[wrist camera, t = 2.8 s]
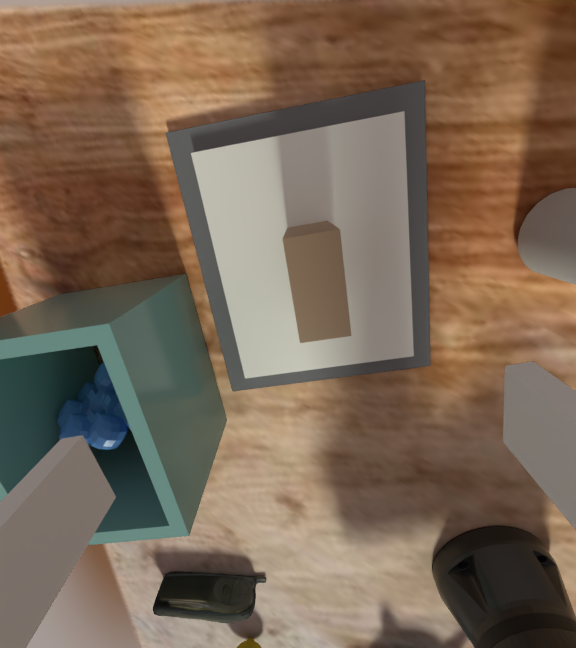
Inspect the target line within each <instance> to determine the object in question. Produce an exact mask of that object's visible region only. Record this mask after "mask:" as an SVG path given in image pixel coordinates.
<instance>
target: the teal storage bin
mask: <svg viewBox="0 0 576 648" xmlns="http://www.w3.org/2000/svg"><path fill="white" fill-rule="evenodd" d="M95 345H97V346H98V348H99V351H100V353H101V356H102V358H103V361H104V363H105V366H106V368H107V371H108V373H109V376H110V378H111V381H112V383H113V386H114V388H115V391H116V393H117V396H118V398H119V401H120V403H121V406H122V408H123V411H124V413H125V416H126V418H127V421H128V423H129V426H130V428H131V430H130V429H129V427H127V433H126V435H125V438H124V440H123V441H122V442H121V444H120V445H119V446H118V447H117V448H116V449H110V450H106V449H98V448H95V447H93V446H91V444H90V445H89V448H90V450H91V451H92V453H93V455H94V457H95V459H96V461H97V463H98V464H99V466H100V468H101V470H102V472H103V474H104V476H105V477H106V479H107V481H108V483H109V485H110V487H111V489H112V490H113V492H114V494H115V496H116V498H115V500H114V501H113V503H112V505H111V506H110V508H109V510H108V511H107V513H106V515H105V516H104V518H103V520H102V521H101V523H100V525H99V526H98V528H97V530H96V531H95V533H94V535H93V537H92V538H91V540H90V542H89V543H88V545H93V544H105V543H115V542H126V541H137V540H148V539H159V538H170V537H181V536H189V535H190V532H191V528H192V525H193V522H194V519H195V516H196V513H197V510H198V507H199V504H200V501H201V498H202V495H203V492H204V489H205V486H206V483H207V480H208V477H209V474H210V471H211V468H212V464H213V461H214V458H215V455H216V452H217V449H218V446H219V443H220V440H221V437H222V434H223V431H224V428H225V425H226V422H227V419H226V416H225V412H224V408H223V405H222V401H221V398H220V394H219V390H218V387H217V383H216V379H215V376H214V372H213V368H212V365H211V361H210V358H209V354H208V350H207V347H206V343H205V339H204V336H203V332H202V329H201V325H200V321H199V318H198V314H197V310H196V307H195V303H194V300H193V296H192V292H191V289H190V285H189V281H188V278H187V274H181V275H175V276H169V277H163V278H156V279H150V280H144V281H138V282H132V283H126V284H120V285H113V286H107V287H101V288H95V289H89V290H83V291H77V292H71V293H64V294H59V295H56V296H54V297H51V298H49V299H46V300H44V301H41V302H38V303H36V304H33V305H31V306H28V307H26V308H23V309H21V310H18V311H15V312H13V313H10V314H8V315H5V316H3V317H0V502H1V501H2V500H3V499H4V498H5V497H6V496H7V495H8V494H9V493H10V491H11V490H12V489H13V488H14V487H15V486H16V485H17V484H18V483H19V482H20V481H21V480H22V479H23V478H24V477H25V476H26V475H27V474H28V473H29V472H30V471H31V470H32V469H33V468H34V467H35V466H36V465H37V463H38V462H39V461H40V460H41V459H42V458H43V457H44V456H45V455H46V454H47V453H48V452H49V451H50V450H51V449H52V448H53V447H54V446H55V445H56V444H57V443H58V442H59V441H60V439H59V434H60V429H61V428H60V427H59V425H58V424H57V416H58V414H59V412H60V410H61V408H62V406H63V405H64V404H65V402H66V401H67V400H77V395H78V393H79V391H80V390H81V388H82V387H83V385H84V384H85V383H86V382H87V383H95V382H94V377H95V374H96V372H97V370H98V368H99V367H100V364H99V362H98V359H97V357H96V354H95V352H94V349H93V347H92V346H95Z"/></svg>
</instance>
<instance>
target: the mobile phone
mask: <svg viewBox="0 0 576 648" xmlns="http://www.w3.org/2000/svg"><path fill="white" fill-rule="evenodd" d="M260 582H261V583H265V582H266V577H246V576H233V575H218V574H206V573H193V572H170V573H168V574H166V575H165V577H164V578H163V581H162V583H161V586H160V589H159V591H158V594H157V597H156V600H155V603H154V606H153V612H154V614H155V615H158V616H170V617H179V618H188V619H201V620H206V621H214V622H219V623H233V622H236V621H240V620H246V619H248V618H249V617H250V616H251V614H252V612H253V610H254V606H255V598H256V593H255V587H256V584H257V583H260Z"/></svg>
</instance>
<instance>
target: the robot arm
mask: <svg viewBox="0 0 576 648" xmlns="http://www.w3.org/2000/svg"><path fill="white" fill-rule="evenodd" d="M503 443H504V444H505V445H506V446H507V448H508V449H509V450H510V451H511V452H512V454H513V455H514V456H515V457H516V459H517V460H518V461H519V462H520V463H521V465H522V466H523V467H524V468H525V469H526V471H527V472H528V473H529V474H530V475H531V477H532V478H533V479H534V480H535V481H536V483H537V484H538V485H539V486H540V487H541V489H542V490H543V491H544V492H545V493H546V495H547V496H548V497H549V498H550V499H551V501H552V502H553V503H554V504H555V506H556V507H557V508H558V509H559V510H560V512H561V513H562V514H563V515H564V516H565V518H566V519H567V520H568V521H569V522H570V524H571V525H572V526H573V527H574V528H575V530H576V391H575V390H573V389H572V388H570V387H569V386H568V385H566V384H565V383H563V382H562V381H560V380H559V379H558V378H556V377H555V376H553V375H552V374H551V373H549V372H548V371H546V370H545V369H543V368H542V367H541V366H539V365H538V364H536V363H535V362H534V361H532V362H526V363H520V364H514V365H508V366H505V384H504V419H503ZM115 498H116V496H115V494H114V492H113V490H112V489H111V487H110V485H109V483H108V481H107V479H106V477H105V476H104V474H103V472H102V470H101V468H100V466H99V464H98V463H97V461H96V459H95V457H94V455H93V453H92V451H91V450H90V448H89V446H88V444H87V442H86V440H85V438H84V437H83V435H81V436H75V437H69V438H63V439H61V440H60V441H59V442H58V443H57V444H56V445H55V446H54V447H53V448H52V449H51V450H50V451H49V452H48V453H47V454H46V455H45V456H44V457H43V458H42V459H41V460H40V461H39V462H38V463H37V465H36V466H35V467H34V468H33V469H32V470H31V471H30V472H29V473H28V474H27V475H26V476H25V477H24V478H23V479H22V480H21V481H20V482H19V483H18V484H17V485H16V486H15V487H14V488H13V489H12V490H11V491H10V493H9V494H8V495H7V496H6V497H5V498H4V499H3V500H2V501H1V502H0V648H26V647H27V645H28V644H29V642H30V640H31V639H32V637H33V635H34V634H35V632H36V630H37V628H38V627H39V625H40V623H41V622H42V620H43V618H44V617H45V615H46V613H47V612H48V610H49V608H50V607H51V605H52V603H53V602H54V600H55V598H56V597H57V595H58V593H59V592H60V590H61V588H62V587H63V585H64V583H65V582H66V580H67V578H68V577H69V575H70V573H71V572H72V570H73V568H74V567H75V564H76V563H77V562H78V560H79V558H80V556H81V555H82V553H83V551H84V550H85V548H86V546H87V545H88V543H89V542H90V540H91V538H92V537H93V535H94V533H95V531H96V530H97V528H98V526H99V525H100V523H101V521H102V520H103V518H104V516H105V515H106V513H107V511H108V510H109V508H110V506H111V505H112V503H113V501H114V500H115ZM433 577H434V580H435V583H436V586H437V589H438V591H439V594H440V596H441V598H442V600H443V601H444V603H445V604H446V606H447V607H448V609H449V610H450V612H451V613H452V615H453V616H454V618H455V619H456V621H457V622H458V624H459V625H460V626H461V628H462V629H463V631H464V632H465V634H466V635H467V637H468V638H469V640H470V641H471V643H472V644H473V646H474V648H576V617H575V614H574V611H573V608H572V605H571V603H570V600H569V597H568V594H567V591H566V589H565V586H564V583H563V580H562V578H561V575H560V572H559V569H558V567H557V564H556V563H555V561H554V559H553V558H552V556H551V555H550V553H549V552H548V551H547V549H546V548H545V546H544V545H543V543H542V542H541V541H540V540H539V539H538V538H536V537H535V536H534V535H532V534H530V533H528V532H526V531H523V530H520V529H516V528H511V527H488V528H482V529H477V530H474V531H470V532H468V533H465V534H463V535H461V536H459V537H457V538H455V539H454V540H452V541H451V542H449V543H448V544H447V545H446V546H444V547H443V548H442V550H441V551H440V552H439V553H438V555H437V556H436V558H435V561H434V563H433Z"/></svg>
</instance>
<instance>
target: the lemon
mask: <svg viewBox="0 0 576 648" xmlns="http://www.w3.org/2000/svg"><path fill="white" fill-rule="evenodd" d="M237 648H261V646H260V645H259V644H258V643H256V642H255V641H254V639H253V638H249V639H248V640H247V641H244V642H242V643H241V644H240V645H239V646H238V647H237Z"/></svg>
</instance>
